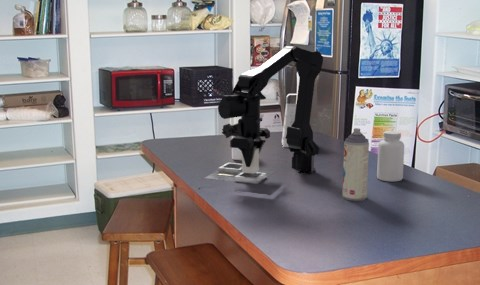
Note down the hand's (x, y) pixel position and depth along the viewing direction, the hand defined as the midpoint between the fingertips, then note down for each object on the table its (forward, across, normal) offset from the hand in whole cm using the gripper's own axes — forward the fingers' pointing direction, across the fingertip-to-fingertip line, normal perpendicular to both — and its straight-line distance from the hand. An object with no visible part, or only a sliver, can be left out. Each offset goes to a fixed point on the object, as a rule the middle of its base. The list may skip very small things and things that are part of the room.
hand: (250, 165), depth 192 cm
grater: (+6, -59, -4) cm, 59 cm away
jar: (+6, -26, -13) cm, 30 cm away
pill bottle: (+6, -21, +39) cm, 45 cm away
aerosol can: (+6, +3, +33) cm, 34 cm away
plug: (+2, 0, 0) cm, 2 cm away
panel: (+6, -4, -5) cm, 9 cm away
